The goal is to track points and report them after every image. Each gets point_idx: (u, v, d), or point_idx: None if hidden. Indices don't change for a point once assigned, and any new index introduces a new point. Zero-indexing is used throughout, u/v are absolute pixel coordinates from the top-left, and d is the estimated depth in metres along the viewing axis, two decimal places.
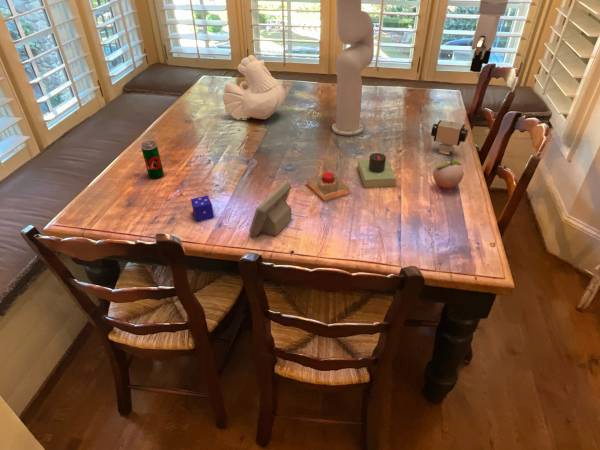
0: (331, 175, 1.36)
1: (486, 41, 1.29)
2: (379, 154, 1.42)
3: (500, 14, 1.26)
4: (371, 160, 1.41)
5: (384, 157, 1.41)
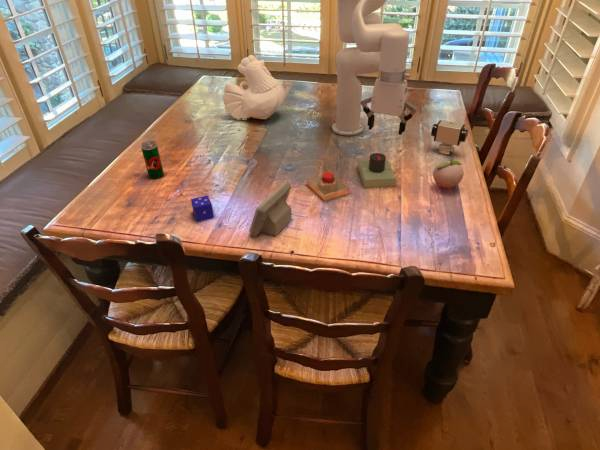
0: (331, 175, 1.36)
1: (371, 101, 1.32)
2: (379, 154, 1.42)
3: (380, 81, 1.26)
4: (371, 160, 1.41)
5: (384, 157, 1.41)
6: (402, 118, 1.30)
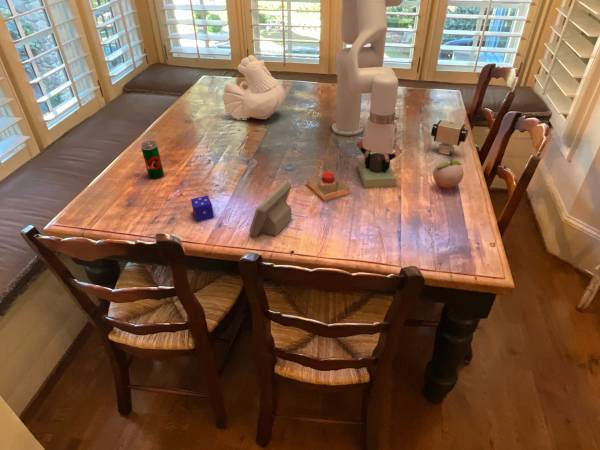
0: (331, 175, 1.36)
1: (363, 139, 1.39)
2: (379, 154, 1.42)
3: (371, 122, 1.32)
4: (371, 160, 1.41)
5: (384, 157, 1.41)
6: (387, 157, 1.38)
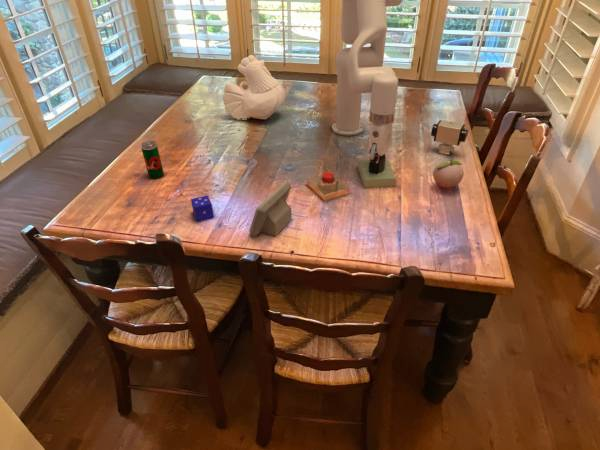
0: (331, 175, 1.36)
1: None
2: (382, 157, 1.41)
3: None
4: None
5: None
6: None
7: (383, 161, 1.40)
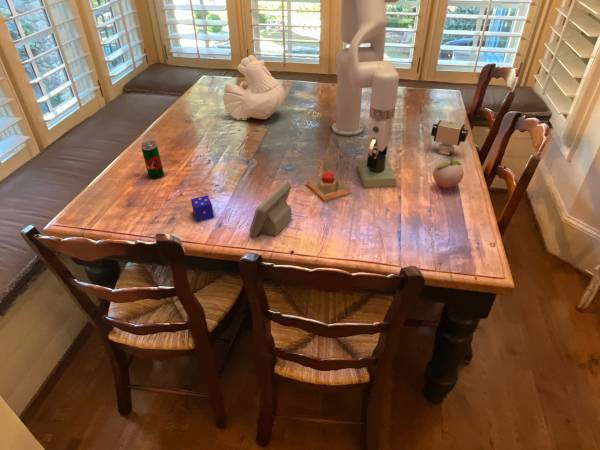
0: (331, 175, 1.36)
1: None
2: (382, 157, 1.41)
3: None
4: None
5: None
6: None
7: (383, 161, 1.40)
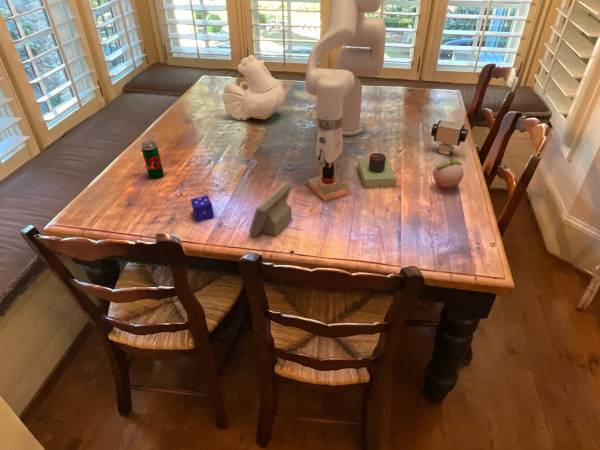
0: None
1: None
2: (382, 157, 1.41)
3: None
4: None
5: (376, 159, 1.40)
6: None
7: (383, 161, 1.40)
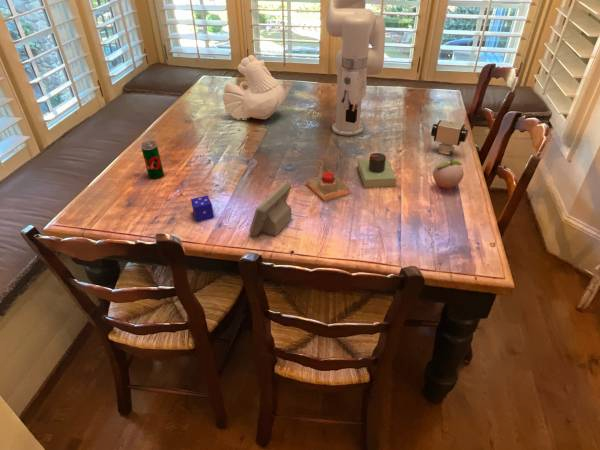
0: (331, 175, 1.36)
1: None
2: (382, 157, 1.41)
3: None
4: None
5: (376, 159, 1.40)
6: None
7: (383, 161, 1.40)
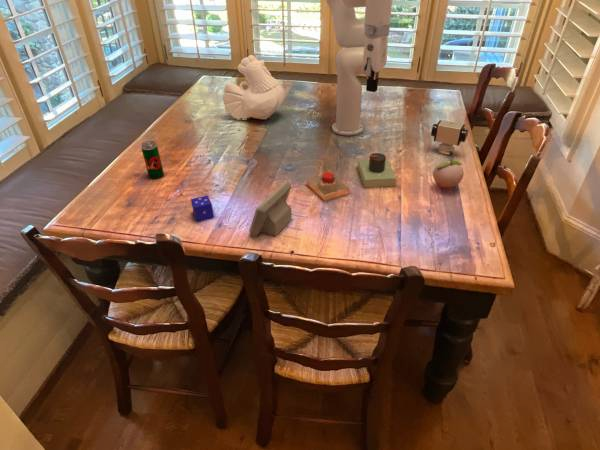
0: (331, 175, 1.36)
1: None
2: (382, 157, 1.41)
3: None
4: None
5: (376, 159, 1.40)
6: None
7: (383, 161, 1.40)
